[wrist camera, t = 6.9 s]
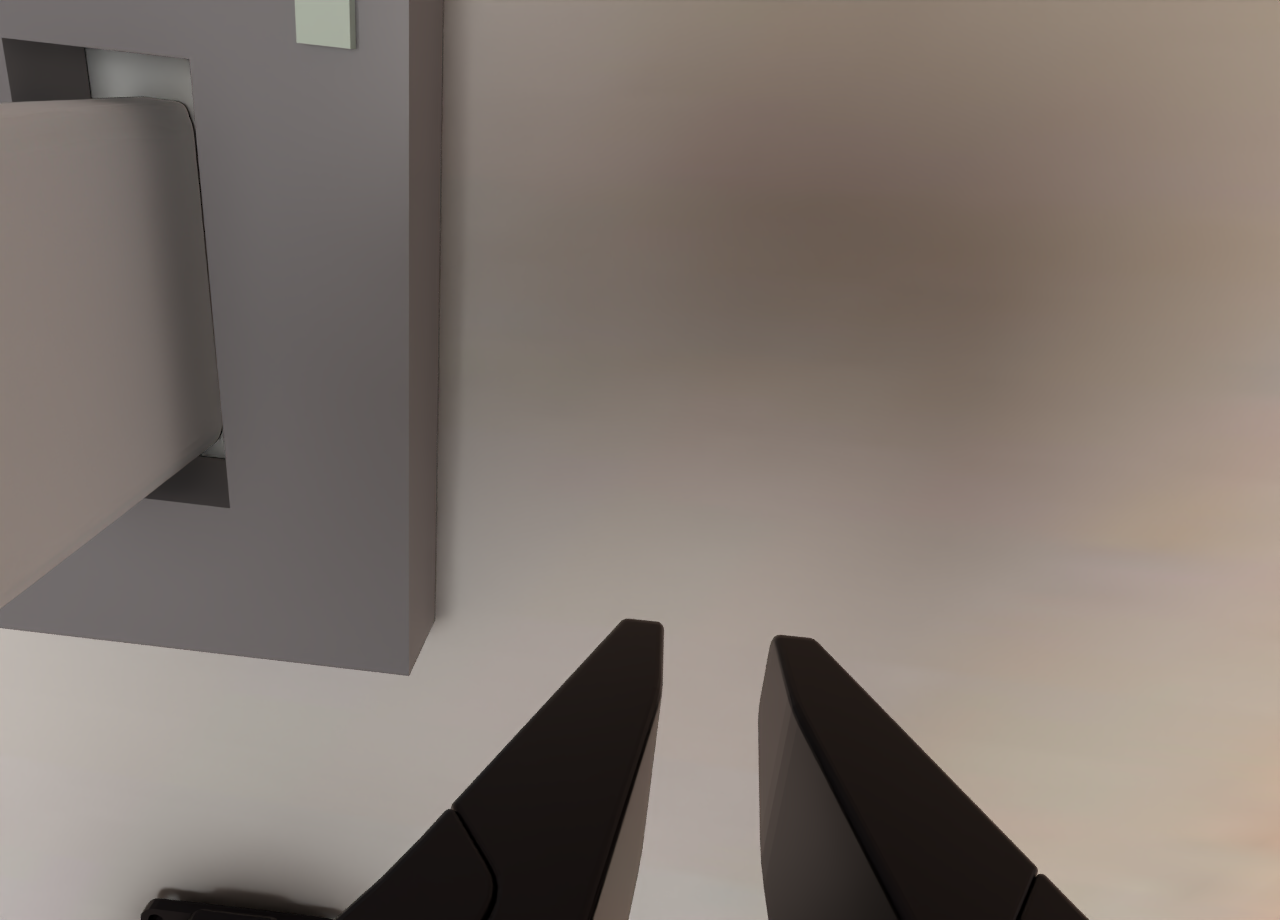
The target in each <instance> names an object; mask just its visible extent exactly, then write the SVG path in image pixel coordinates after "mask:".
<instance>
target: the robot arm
mask: <svg viewBox="0 0 1280 920" xmlns="http://www.w3.org/2000/svg"><path fill="white" fill-rule="evenodd" d="M663 649H664V627H663V625H662V624H661V623H659V622H655V621H646V620H637V619H624V620H622V621H621V622H620V623H619V624H618V625H617V626H616V627H615V628H614V629H613V631H612V632H611V633H610V634H609V635H608V636H607V637H606V638H605V639H604V640H603V641H602V642H601V644H600V645H599V646H598V647H597V648H596V649H595V650H594V651H593V652H592V653H591V654H590V655H589V657H588V658H587V659H586V660H585V661H584V662H583V663H582V664H581V665H580V666H579V667H578V668H577V670H576V671H575V672H574V673H573V674H572V675H571V676H570V677H569V678H568V679H567V680H566V681H565V683H564V684H563V685H562V686H561V687H560V688H559V689H558V690H557V691H556V692H555V693H554V694H553V696H552V697H551V698H550V699H549V700H548V701H547V702H546V703H545V704H544V705H543V706H542V707H541V709H540V710H539V711H538V712H537V713H536V714H535V715H534V716H533V717H532V718H531V719H530V720H529V722H528V723H527V724H526V725H525V726H524V727H523V728H522V729H521V730H520V731H519V732H518V733H517V735H516V736H515V737H514V738H513V739H512V740H511V741H510V742H509V743H508V744H507V745H506V746H505V748H504V749H503V750H502V751H501V752H500V753H499V754H498V755H497V756H496V757H495V758H494V759H493V761H492V762H491V763H490V764H489V765H488V766H487V767H486V768H485V769H484V770H483V771H482V772H481V773H480V775H479V776H478V777H477V778H476V779H475V780H474V781H473V782H472V783H471V784H470V785H469V786H468V788H467V789H466V790H465V791H464V792H463V793H462V794H461V795H460V796H459V797H458V798H457V799H456V801H455V802H454V803H453V804H452V806H451V809H448V810H446V811H445V812H444V813H443V814H442V815H441V816H440V817H439V818H438V819H437V821H436V822H435V823H434V824H433V825H432V826H431V827H430V828H429V829H428V830H427V832H426V833H425V834H424V835H423V836H422V837H421V838H420V839H419V840H418V841H417V842H416V843H415V844H414V845H413V846H412V847H411V848H410V849H409V850H408V851H407V852H406V853H405V854H404V855H403V856H402V857H401V858H400V859H399V860H398V861H397V862H396V863H395V864H394V865H393V866H392V867H391V868H390V869H389V870H388V871H387V872H386V873H385V874H384V875H383V876H382V877H381V878H380V879H379V880H378V881H377V882H376V883H375V884H374V885H373V886H371V887H370V888H369V889H368V890H367V891H366V892H365V893H364V894H362V895H361V896H360V897H359V898H358V899H357V900H356V901H355V902H354V903H352V904H351V905H350V906H349V907H348V908H347V909H346V910H345V911H343V912H342V913H341V914H340V915H339V916H338V917H337V918H336V919H335V920H628V919H629V914H630V910H631V905H632V900H633V895H634V890H635V886H636V881H637V876H638V871H639V865H640V860H641V854H642V848H643V840H644V832H645V824H646V816H647V808H648V800H649V792H650V784H651V776H652V768H653V760H654V752H655V744H656V736H657V728H658V721H659V713H660V705H661V697H662V686H663ZM758 743H759V805H760V847H761V865H762V874H763V884H764V892H765V899H766V906H767V913H768V920H1089V919H1088V918H1087V917H1086V916H1085V915H1084V914H1083V913H1082V912H1081V911H1080V910H1079V909H1078V908H1077V907H1076V906H1075V905H1074V904H1073V903H1072V902H1071V901H1070V900H1069V899H1068V898H1067V897H1066V896H1065V895H1064V894H1063V893H1062V892H1061V891H1060V890H1059V889H1058V888H1057V887H1056V886H1055V885H1054V884H1053V883H1052V882H1051V881H1050V880H1049V879H1048V878H1047V877H1046V876H1045V875H1044V874H1038V875H1037V873H1038V869H1037V867H1036V866H1035V865H1034V864H1033V863H1032V862H1031V861H1030V860H1029V858H1028V857H1027V856H1026V855H1025V854H1024V853H1023V852H1022V851H1021V850H1020V849H1019V848H1018V847H1017V846H1016V845H1015V844H1014V843H1013V842H1012V841H1011V840H1010V839H1009V838H1008V837H1007V836H1006V835H1005V834H1004V833H1003V832H1002V831H1001V830H1000V829H999V828H998V827H997V826H996V825H995V824H994V823H993V822H992V821H991V820H990V818H989V817H988V816H987V815H986V814H985V813H984V812H983V811H982V810H981V809H980V808H979V807H978V806H977V805H976V804H975V803H974V802H973V801H972V800H971V799H970V798H969V797H968V796H967V795H966V794H965V793H964V792H963V791H962V790H961V789H960V788H959V787H958V786H957V785H956V784H955V783H954V782H953V781H952V779H951V778H950V777H949V776H948V775H947V774H946V773H945V772H944V771H943V770H942V769H941V768H940V767H939V766H938V765H937V764H936V763H935V762H934V761H933V760H932V759H931V758H930V757H929V756H928V755H927V754H926V753H925V752H924V751H923V750H922V749H921V748H920V747H919V746H918V745H917V744H916V743H915V742H914V740H913V739H912V738H911V737H910V736H909V735H908V734H907V733H906V732H905V731H904V730H903V729H902V728H901V727H900V726H899V725H898V724H897V723H896V722H895V721H894V720H893V719H892V718H891V717H890V716H889V715H888V714H887V713H886V712H885V711H884V710H883V709H882V708H881V707H880V706H879V705H878V704H877V703H876V701H875V700H874V699H873V698H872V697H871V696H870V695H869V694H868V693H867V692H866V691H865V690H864V689H863V688H862V687H861V686H860V685H859V684H858V683H857V682H856V681H855V680H854V679H853V678H852V677H851V676H850V675H849V674H848V673H847V672H846V671H845V670H844V669H843V668H842V667H841V666H840V665H839V664H838V663H837V661H836V660H835V659H834V658H833V657H832V656H831V655H830V654H829V653H828V652H827V651H826V650H825V649H824V648H823V647H822V646H821V645H820V644H819V643H818V642H817V641H815V640H814V639H812V638H806V637H796V636H786V635H777V636H775V637H774V638H773V640H772V641H771V644H770V648H769V654H768V659H767V665H766V670H765V676H764V681H763V687H762V692H761V698H760V704H759V715H758ZM141 920H333V919H329V918H321V917H313V916H304V915H296V914H287V913H279V912H271V911H262V910H254V909H245V908H237V907H228V906H220V905H211V904H203V903H195V902H186V901H178V900H169V899H153V900H151V901H150V902H149V903H148V905H147V906H146V908H145V909H144V911H143V912H142V914H141Z"/></svg>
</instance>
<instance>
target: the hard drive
mask: <svg viewBox="0 0 1280 920" xmlns="http://www.w3.org/2000/svg"><path fill="white" fill-rule="evenodd" d="M221 428H222V415H221V405H220V395H219V384H218V374H217V364H216V352H215V342H214V332H213V323H212V314H211V303H210V293H209V280H208V272H207V261H206V253H205V241H204V230H203V218H202V209H201V199H200V188H199V177H198V168H197V161H196V149H195V139H194V132H193V127H192V123H191V120H190V118H189V115H188V111H187V109H186V108H185V106H184V105H183V104H182V103H179V102H177V101H171V100H163V99H154V98H148V97H117V98H96V99H78V100H52V101H25V102H7V103H0V609H1V608H2V607H3V606H5V605H6V604H7V603H8V602H10V601H11V600H12V599H14V598H15V597H16V596H18V595H19V594H20V593H22V592H23V591H24V590H26V589H27V588H28V587H30V586H31V585H32V584H33V583H35V582H36V581H37V580H39V579H40V578H41V577H42V576H44V575H45V574H46V573H48V572H49V571H50V570H51V569H53V568H54V567H55V566H57V565H58V564H59V563H60V562H62V561H63V560H64V559H66V558H67V557H68V556H70V555H71V554H72V553H74V552H75V551H76V550H77V549H79V548H80V547H81V546H83V545H84V544H85V543H87V542H88V541H89V540H91V539H92V538H93V537H94V536H96V535H97V534H98V533H100V532H101V531H102V530H103V529H105V528H106V527H107V526H109V525H110V524H111V523H113V522H114V521H115V520H116V519H118V518H119V517H120V516H122V515H123V514H124V513H125V512H127V511H128V510H129V509H131V508H132V507H133V506H134V505H136V504H137V503H138V502H140V501H141V500H142V499H143V498H145V497H146V496H147V495H149V494H150V493H151V492H152V491H154V490H155V489H156V488H157V487H159V486H160V485H161V484H163V483H164V482H165V481H166V480H168V479H169V478H170V477H172V476H173V475H174V474H176V473H177V472H178V471H180V470H181V469H182V468H183V467H185V466H186V465H187V464H188V463H189V462H191V461H192V460H194V459H195V458H196V457H198V456H199V455H200V454H201V453H203V452H204V451H205V450H207V449H208V448H209V447H210V446H211V445H213V444H214V443H215V442H216V441H217V440H218V438H219V435H220V433H221Z"/></svg>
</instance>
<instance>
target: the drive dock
mask: <svg viewBox="0 0 1280 920" xmlns="http://www.w3.org/2000/svg"><path fill="white" fill-rule="evenodd" d="M84 47H88V48H97V49H106V50H114V51H123V52H132V53H141V54H149V55H158V56H167V57H176V58H184V59H189V61H190V72H191V83H192V94H193V105H194V116H195V127H196V138H197V149H198V160H199V171H200V182H201V193H202V204H203V215H204V226H205V237H206V248H207V259H208V270H209V281H210V292H211V303H212V314H213V325H214V336H215V347H216V358H217V369H218V380H219V391H220V402H221V413H222V424H223V435H224V446H225V457H226V459H219V458H211V457H202V456H198V457H196V458H195V459H194V460H192V461H191V462H189V463H188V464H187V465H186V466H185V467H183V468H182V469H181V470H180V471H178V472H177V473H176V474H174V475H173V476H172V477H170V478H169V479H168V480H166V481H165V482H164V483H163V484H161V485H160V486H159V487H157V488H156V489H155V490H154V491H152V492H151V493H150V494H149V495H147V496H146V497H145V498H143V499H142V500H141V501H140V502H138V503H137V504H136V505H134V506H133V507H132V508H131V509H129V510H128V511H127V512H125V513H124V514H123V515H122V516H120V517H119V518H118V519H116V520H115V521H114V522H113V523H111V524H110V525H109V526H107V527H106V528H105V529H103V530H102V531H101V532H100V533H98V534H97V535H96V536H94V537H93V538H92V539H91V540H89V541H88V542H87V543H85V544H84V545H83V546H81V547H80V548H79V549H77V550H76V551H75V552H74V553H72V554H71V555H70V556H68V557H67V558H66V559H64V560H63V561H62V562H60V563H59V564H58V565H57V566H55V567H54V568H53V569H51V570H50V571H49V572H48V573H46V574H45V575H44V576H42V577H41V578H40V579H39V580H37V581H36V582H35V583H33V584H32V585H31V586H30V587H28V588H27V589H26V590H24V591H23V592H22V593H20V594H19V595H18V596H16V597H15V598H14V599H12V600H11V601H10V602H8V603H7V604H6V605H5V606H3V607H2V608H1V609H0V628H5V629H13V630H22V631H30V632H39V633H48V634H56V635H65V636H73V637H82V638H90V639H99V640H107V641H116V642H124V643H133V644H141V645H150V646H158V647H167V648H176V649H184V650H193V651H201V652H210V653H218V654H227V655H235V656H244V657H252V658H261V659H269V660H278V661H286V662H295V663H304V664H312V665H321V666H329V667H338V668H346V669H355V670H363V671H372V672H380V673H389V674H397V675H406V676H409V675H410V673H411V671H412V669H413V666H414V664H415V662H416V660H417V658H418V656H419V653H420V651H421V649H422V647H423V645H424V643H425V641H426V638H427V636H428V634H429V632H430V630H431V628H432V625H433V623H434V621H435V584H436V510H437V437H438V363H439V289H440V216H441V142H442V68H443V0H0V103H7V102H25V101H52V100H78V99H91V95H90V88H89V81H88V73H87V66H86V58H85V51H84Z"/></svg>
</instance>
